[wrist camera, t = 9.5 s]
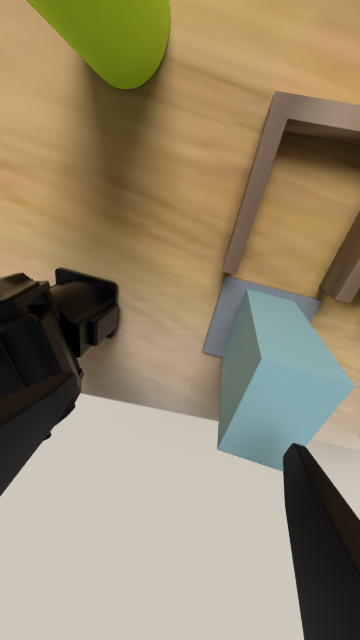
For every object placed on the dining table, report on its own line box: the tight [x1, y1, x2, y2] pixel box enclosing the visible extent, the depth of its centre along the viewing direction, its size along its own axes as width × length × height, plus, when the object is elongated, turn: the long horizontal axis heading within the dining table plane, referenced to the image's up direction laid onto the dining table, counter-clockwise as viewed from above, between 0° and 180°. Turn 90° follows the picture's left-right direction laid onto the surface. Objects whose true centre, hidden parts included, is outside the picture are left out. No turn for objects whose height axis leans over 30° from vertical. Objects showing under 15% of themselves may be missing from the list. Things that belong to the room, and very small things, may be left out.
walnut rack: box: [223, 91, 360, 303], centre depth 14 cm, size 14×10×3 cm
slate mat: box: [203, 276, 322, 357], centre depth 20 cm, size 8×8×1 cm
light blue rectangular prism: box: [217, 289, 354, 471], centre depth 15 cm, size 4×7×10 cm, turn 169°
